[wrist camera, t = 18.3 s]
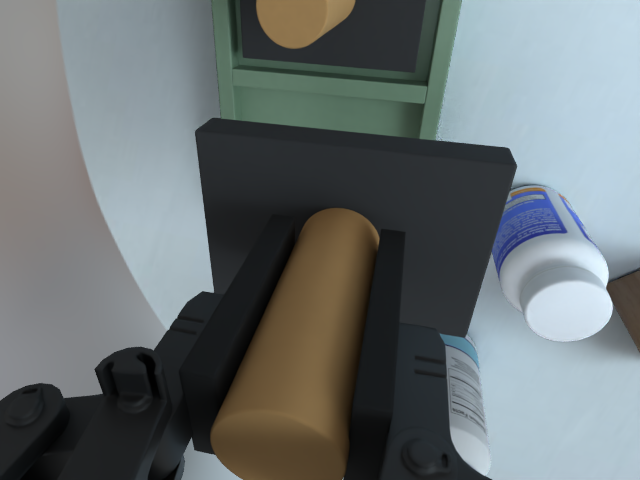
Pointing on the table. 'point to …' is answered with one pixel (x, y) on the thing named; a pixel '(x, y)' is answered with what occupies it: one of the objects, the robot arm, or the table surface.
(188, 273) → the table surface
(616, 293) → the wooden block
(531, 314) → the pill bottle
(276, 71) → the pad holder
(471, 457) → the beverage can
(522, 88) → the table surface
